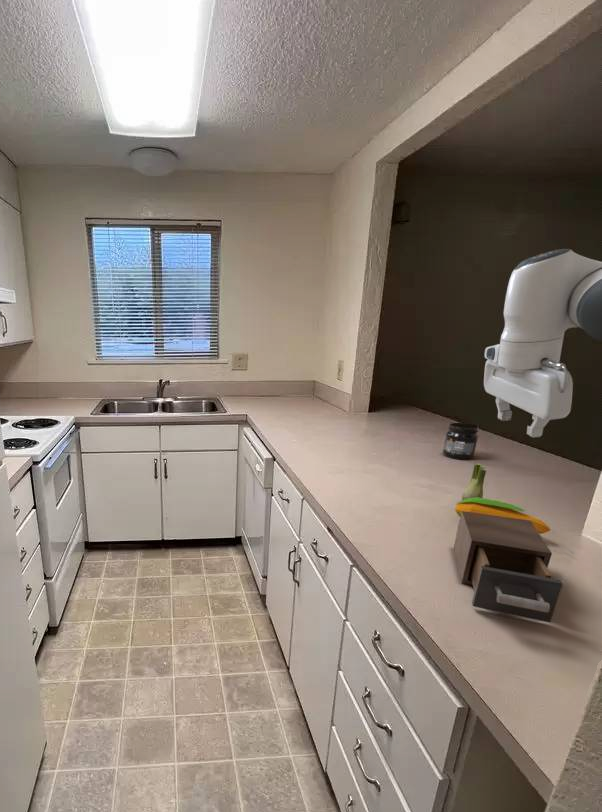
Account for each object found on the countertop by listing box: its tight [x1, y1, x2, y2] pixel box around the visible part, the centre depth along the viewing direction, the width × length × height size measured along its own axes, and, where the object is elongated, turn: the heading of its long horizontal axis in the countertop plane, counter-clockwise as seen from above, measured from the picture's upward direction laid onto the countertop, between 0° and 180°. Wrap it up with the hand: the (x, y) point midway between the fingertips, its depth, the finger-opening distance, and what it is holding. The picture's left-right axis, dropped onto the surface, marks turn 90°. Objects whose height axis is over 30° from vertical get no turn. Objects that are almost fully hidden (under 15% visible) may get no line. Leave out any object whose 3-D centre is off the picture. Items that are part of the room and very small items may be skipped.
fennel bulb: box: [461, 462, 487, 501], centre depth 122 cm, size 6×5×12 cm
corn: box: [454, 497, 551, 535], centre depth 108 cm, size 7×8×20 cm
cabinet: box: [452, 511, 553, 586], centre depth 90 cm, size 15×13×10 cm
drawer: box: [469, 545, 564, 623], centre depth 80 cm, size 18×12×8 cm, turn 157°
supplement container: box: [442, 422, 479, 460], centre depth 165 cm, size 10×10×12 cm
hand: (518, 427), depth 82 cm, fingers open, 8 cm apart
